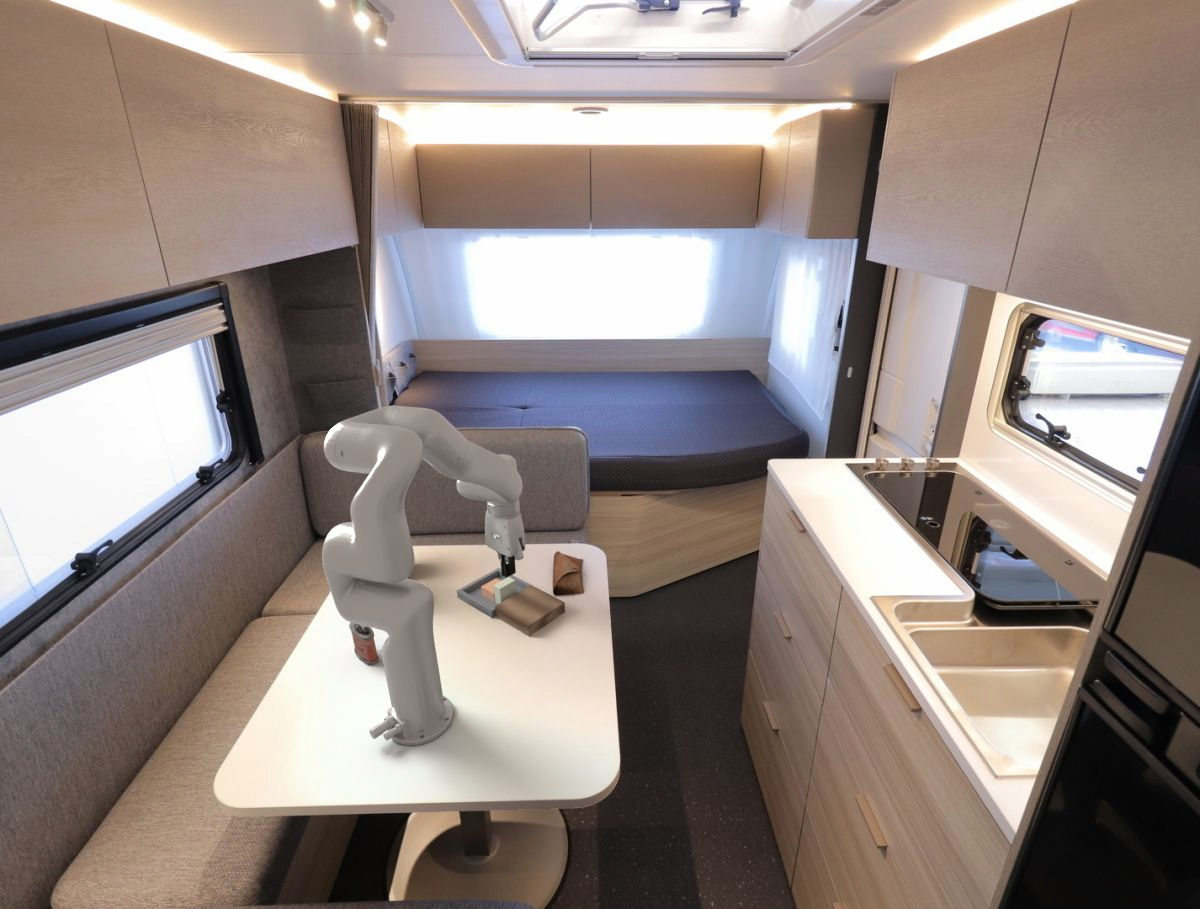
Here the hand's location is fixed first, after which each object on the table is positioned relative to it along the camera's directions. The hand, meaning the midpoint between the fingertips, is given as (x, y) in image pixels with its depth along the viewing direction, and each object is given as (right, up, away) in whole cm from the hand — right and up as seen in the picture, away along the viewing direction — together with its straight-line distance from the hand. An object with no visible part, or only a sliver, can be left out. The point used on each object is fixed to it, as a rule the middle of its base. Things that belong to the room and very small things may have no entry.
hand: (508, 574), depth 151 cm
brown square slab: (+5, -10, 0) cm, 11 cm away
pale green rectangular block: (-1, -5, +4) cm, 7 cm away
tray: (-5, -7, +8) cm, 12 cm away
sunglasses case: (+14, -4, +16) cm, 22 cm away
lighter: (-30, -16, -12) cm, 36 cm away
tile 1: (-5, -4, +7) cm, 10 cm away
